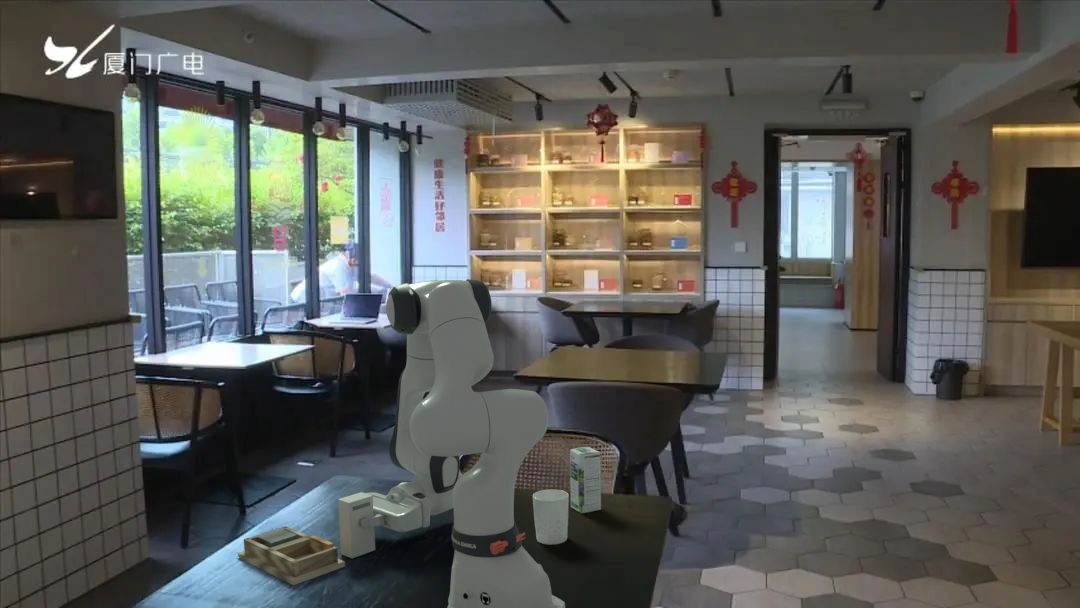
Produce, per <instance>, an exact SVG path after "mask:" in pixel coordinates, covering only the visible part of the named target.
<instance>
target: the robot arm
mask: <svg viewBox="0 0 1080 608" xmlns="http://www.w3.org/2000/svg"><path fill="white" fill-rule="evenodd" d="M385 303H386V305H385V313H386V317H387V320H388V322H389V324H390V327H391V328H392V329H393V330H394V331H395V332H396V333H398V334H404V335H406V364H405V368H404V369H403V370H402V372H401V373H400V375H399V379H398V387H397V396H396V406H395V417H394V429H393V433H392V436H391V439H390V442H389V448H388V449H389V450H388V451H389V452H388V453H389V457H390V461H391V463H392V464H393V465H394V466H395V467H397V468H399V469H402V470H404V471H407V472H411V473H412V474H414V475H415V478H414V480H412V481H409V482H407V483H406V484H402V485H399V484H398V485H399V486H398V485H396V486H393V487H391V489H390V490H389V491H388V494H387V495H386V494H382V493H379V492H365V493H366V494H369V495H372V496H373V513H374V516H373V517H368V518H367V517H364V518H361V519H359V526H360V527H362V528H367V527H372V526H374V527H380V526H381V527H383V528H386V529H389V530H392V531H395V532H397V533H406V532H410V531H414V530H416V529H420V528H423V529H424V528H427V527H430V524H431V516H436V515H439V514H443V513H445V512H447V511H449V510H451V509H452V510H453V525H452V527H451V543H452V548H453V549H454V551H453V552H454V553H453V560H452V565H451V572H450V573H451V574H450V587H449V589H450V590H449V595H448V599H447V602H448V605H447V607H446V608H566V602H565V601H563V600H562V599H561V598H558V597H557V596H555V595H553V594H552V587H551V582H550V578H549V575H548V574H547V573H546V572H545V570H544V568H543V566H542V564H540V563H537V561H535V559H534V558H533V557H532V556H531V555H530V554H529V553H528V551H527V550H526V549H525V548H524V546H522V545H523V542H522V541H524V539H526V536H525V535H526V532H523V533H520V532H519V531H520V530H519V528H518V526H517V523H516V522H515V518H514V517H515V515H514V514H515V511H514V509H515V508H514V507H515V506H514V505H515V501H514V500H515V486H516V480H517V477H518V473H519V470H520V468H521V466H522V464H523V462H524V460H525V458H526V456H527V455H528V454H529V452H530V451H531V450H532V449H533V448H534V447H535V445H536V444H538V443H539V442H540V441H541V440H542V439H543V438H544V436H545V434H546V432H547V430H548V426H549V419H550V417H549V416H550V415H549V410H548V406H547V405H546V403H545V401H544V399H543V398H542V396H541V395H539V394H538V392H536V391H534V390H527V389H518V388H517V389H516V388H506V389H497V390H488V391H486V390H485V391H474V390H473V388H472V386H474V385H475V384H477V383H478V382H481V380H483V379H484V378H485V377H486V376H487V375H488V374H489V373H490V371H491V370H492V368H493V366H494V361H495V360H494V359H495V358H494V356H495V355H494V352H493V348H492V345H491V341H490V338H489V334H488V329H487V328H486V324H487V322H488V321H489V320H490V319H491V316H492V309H493V301H492V297H491V294H490V291H489V287H488V286H487V285H486V283H484V282H483V281H480V280H477V279H470V278H467V279H466V280H462V279H460V280H459V279H443V280H441V279H440V280H439V279H432V280H424V281H420V282H414V283H407V282H406V283H402V284H399V285H395V286H393V287H391V290H389V292H388V296H387V299H386V302H385ZM426 393H428V394H427V395H426V397H425V394H426ZM424 397H425V398H424ZM473 454H480V457H479V459H478V461H476V463H475V465H474V466H472V468H470V469H469V470H467V471H466V472H464V473H462V472H461V470H460V465H461V464H460V463H461V458H460V456H466V455H473ZM524 536H525V537H524Z"/></svg>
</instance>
